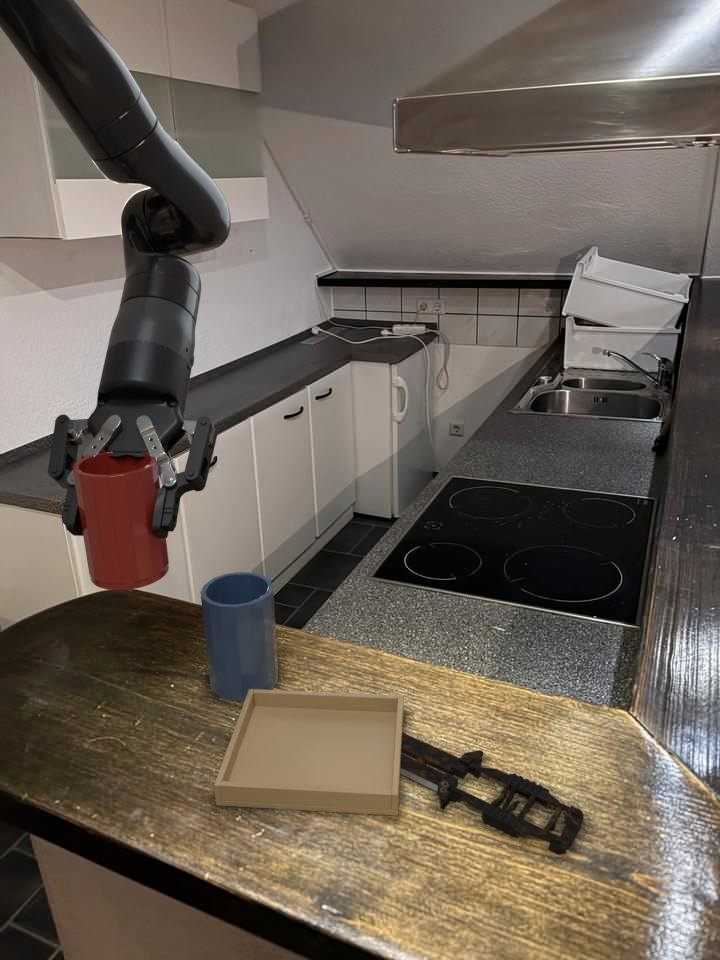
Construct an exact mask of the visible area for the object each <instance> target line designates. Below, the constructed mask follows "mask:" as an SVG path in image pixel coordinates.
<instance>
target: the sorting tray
mask: <svg viewBox="0 0 720 960" xmlns="http://www.w3.org/2000/svg"><path fill="white" fill-rule="evenodd" d="M404 697H405V696H404V695H401V694H400V695H399V694H398V695H397V694H375V693H374V694H373V693H353V692H331V691H329V692H328V691H305V690H304V691H303V690H283V689H282V690H281V689H272V690H261V689H255V690H254V689H249V691H248V693H247V696H246V699H245V701H243V704H242V707H241V710H240V713H239V716H238V718H237V720H236V724H235V726H234V729H233V732H232V735H231V737H230V740H229V743H228V746H227V748H226V751H225V754H224V757H223V759H222V762H221V764H220V768H219V770H218V773H217V775H216V778H215V781H214V784H213V788H214V789H213V790H214V798H215V799H214V800H215V806H219V807H235V808H236V807H238V808H252V809H253V808H255V809H272V810H290V811H291V810H292V811H307V812H309V811H310V812H324V813H325V812H326V813H341V814H342V813H343V814H344V813H345V814H360V815H378V816H395V817H396V816H397V817H398V816H399V807H400V806H399V803H400V789H401V788H400V786H401V774H400V767H401V754H402V751H401V748H402V733H404V731H403V730H404V729H403V728H404V715H405V712H404V705H405V703H404V702H405V700H404V699H405V698H404Z"/></svg>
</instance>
